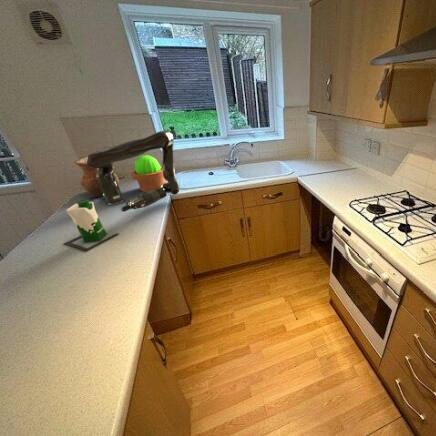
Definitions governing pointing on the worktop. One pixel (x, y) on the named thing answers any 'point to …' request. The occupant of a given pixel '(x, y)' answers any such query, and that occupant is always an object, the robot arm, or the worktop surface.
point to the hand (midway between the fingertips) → (122, 209)
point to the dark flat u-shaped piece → (89, 247)
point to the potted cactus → (148, 173)
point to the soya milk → (87, 221)
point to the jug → (91, 178)
